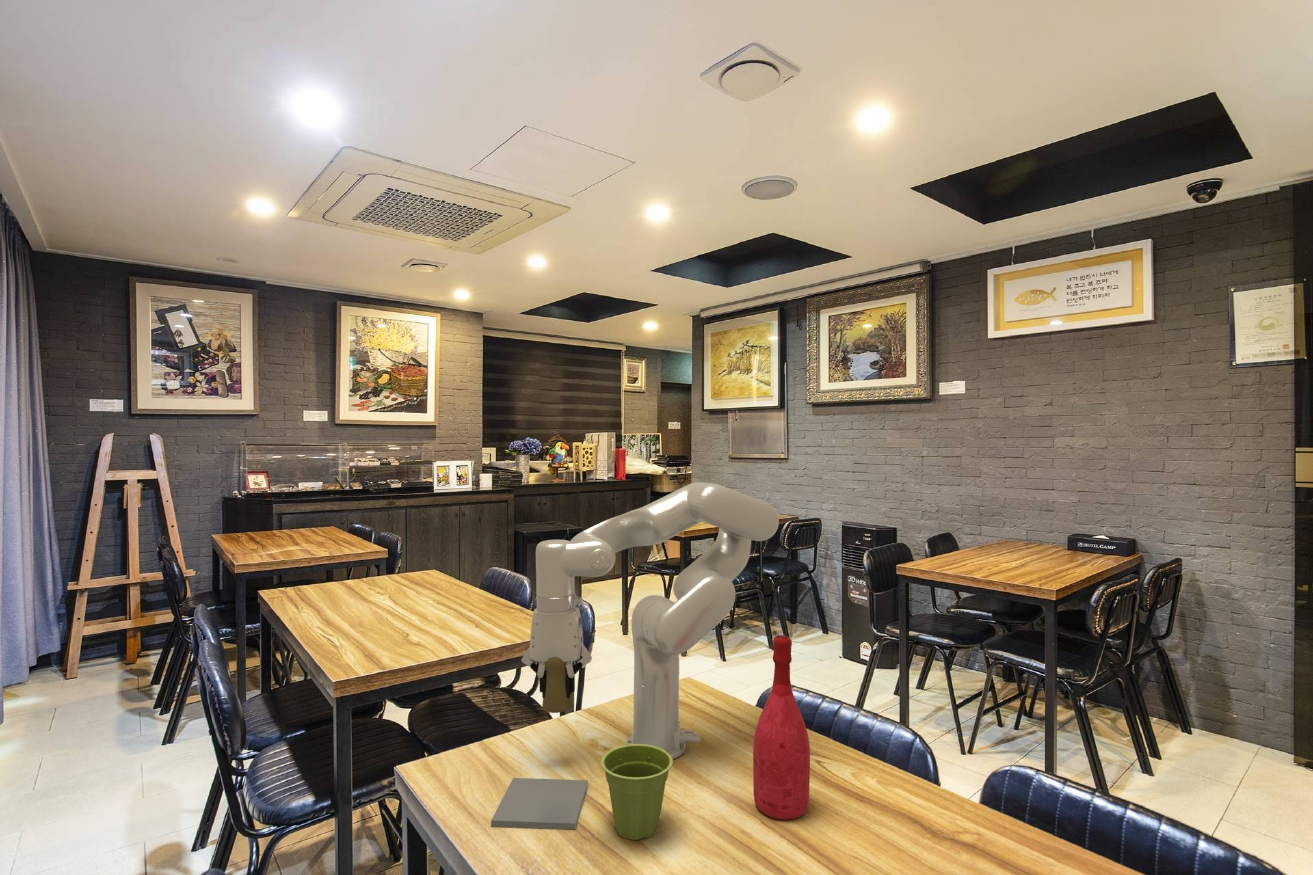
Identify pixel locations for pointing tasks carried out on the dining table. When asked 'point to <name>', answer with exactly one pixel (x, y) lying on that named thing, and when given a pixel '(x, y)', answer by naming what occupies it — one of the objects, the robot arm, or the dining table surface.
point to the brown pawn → (556, 687)
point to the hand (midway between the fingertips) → (557, 694)
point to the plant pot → (636, 787)
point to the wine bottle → (781, 746)
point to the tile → (541, 804)
